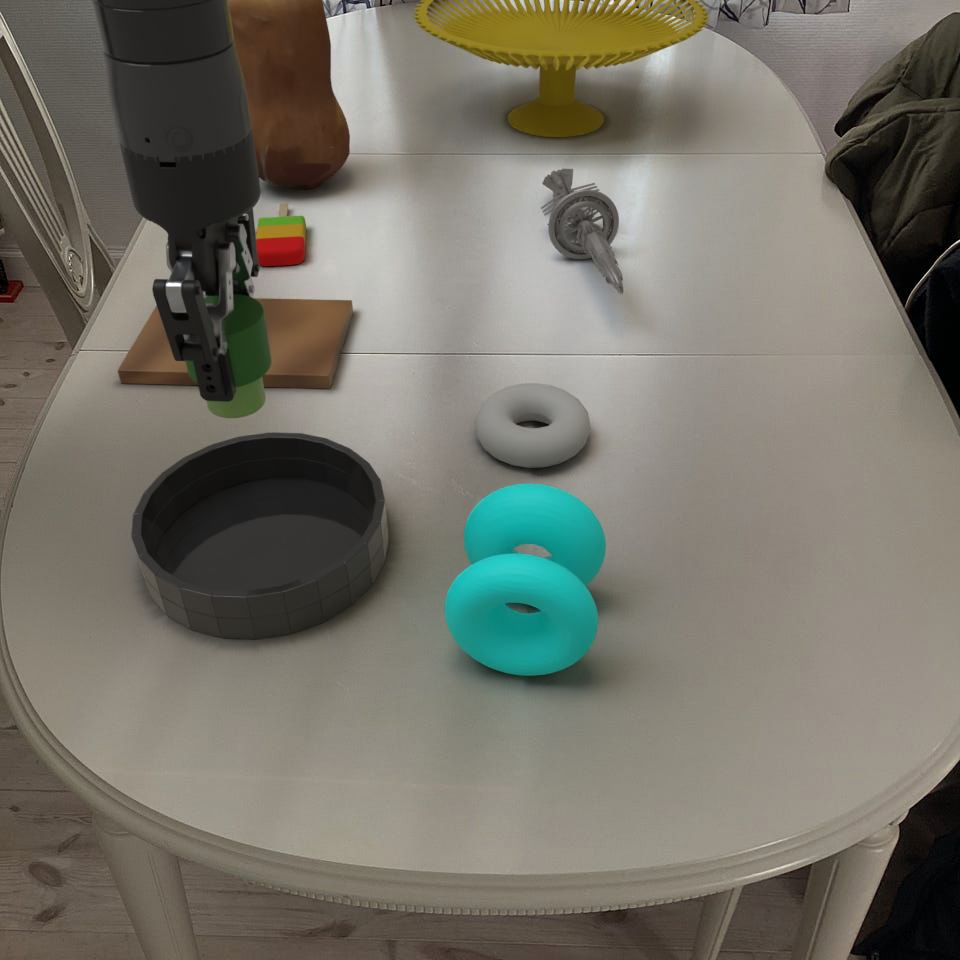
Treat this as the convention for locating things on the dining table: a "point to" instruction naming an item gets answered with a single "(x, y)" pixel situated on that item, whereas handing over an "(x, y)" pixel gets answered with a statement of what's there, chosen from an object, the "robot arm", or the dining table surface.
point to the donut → (532, 443)
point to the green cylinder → (243, 357)
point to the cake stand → (560, 48)
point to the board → (292, 340)
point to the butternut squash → (290, 90)
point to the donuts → (527, 581)
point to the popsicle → (281, 239)
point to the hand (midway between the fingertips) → (231, 371)
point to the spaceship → (583, 224)
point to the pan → (261, 535)
